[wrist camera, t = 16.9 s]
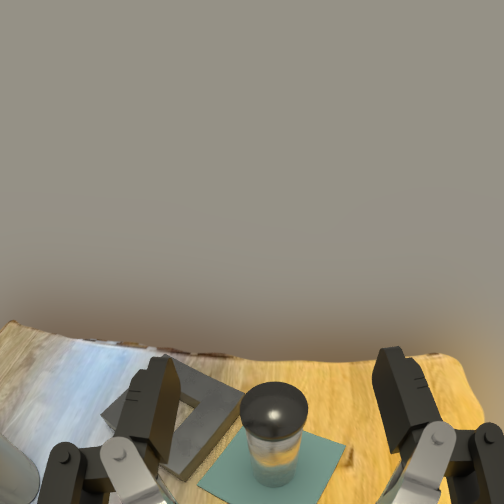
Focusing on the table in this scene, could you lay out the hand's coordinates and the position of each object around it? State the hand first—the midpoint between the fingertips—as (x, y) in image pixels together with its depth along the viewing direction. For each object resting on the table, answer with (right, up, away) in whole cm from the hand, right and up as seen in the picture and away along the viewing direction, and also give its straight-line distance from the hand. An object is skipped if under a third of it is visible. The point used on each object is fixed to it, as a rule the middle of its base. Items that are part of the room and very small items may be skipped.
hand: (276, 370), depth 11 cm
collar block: (-11, -18, +26) cm, 34 cm away
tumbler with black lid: (+2, -21, +19) cm, 28 cm away
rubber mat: (+2, -21, +19) cm, 29 cm away
